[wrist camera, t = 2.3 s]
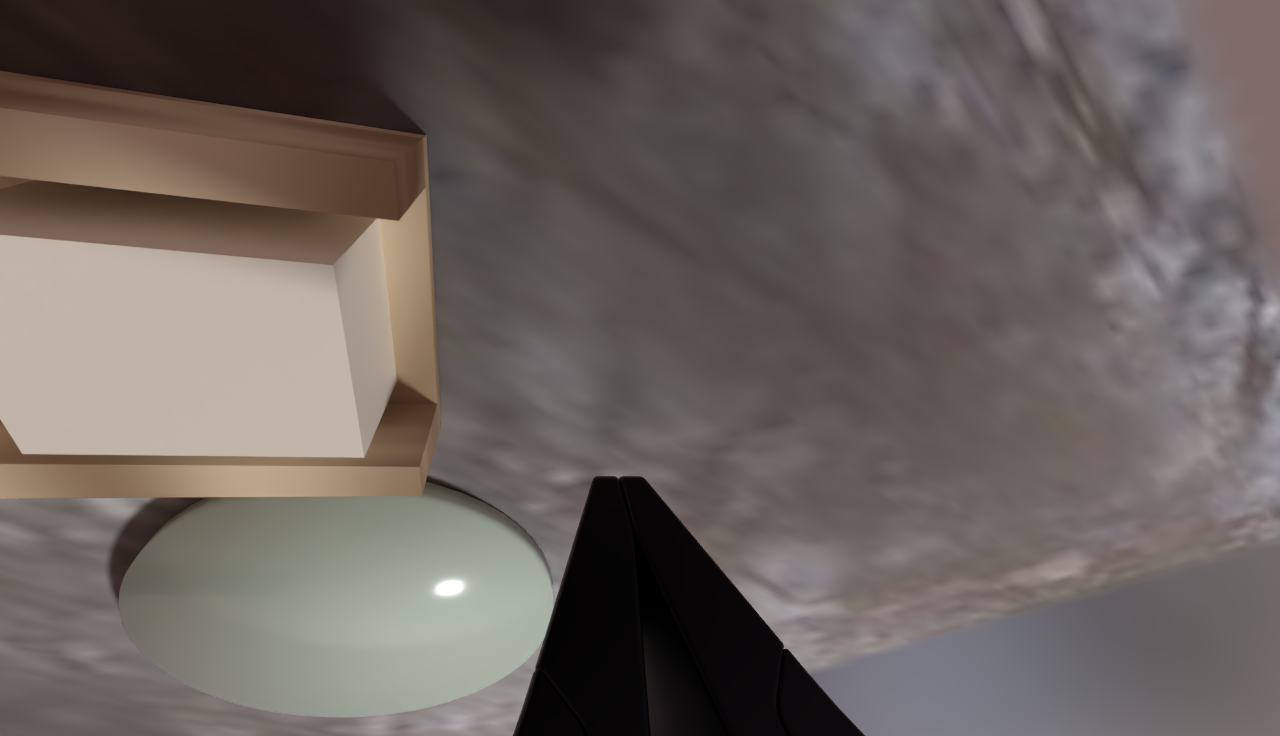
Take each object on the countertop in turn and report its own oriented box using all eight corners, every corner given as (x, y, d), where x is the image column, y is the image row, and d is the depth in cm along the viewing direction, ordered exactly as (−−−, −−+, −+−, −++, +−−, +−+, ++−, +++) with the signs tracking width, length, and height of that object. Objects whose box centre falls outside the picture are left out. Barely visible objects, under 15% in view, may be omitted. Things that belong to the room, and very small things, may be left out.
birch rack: (-193, 406, 12) (-381, 501, 9) (-566, -16, 7) (-1082, -42, 5) (440, 423, 15) (421, 495, 12) (426, 135, 11) (393, 162, 8)
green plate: (203, 712, 21) (192, 734, 20) (57, 469, 14) (32, 491, 13) (541, 681, 24) (541, 699, 23) (568, 472, 17) (569, 489, 16)
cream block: (129, 369, 12) (22, 453, 10) (44, 177, 10) (-126, 223, 7) (396, 381, 13) (364, 457, 11) (379, 215, 11) (333, 265, 9)
